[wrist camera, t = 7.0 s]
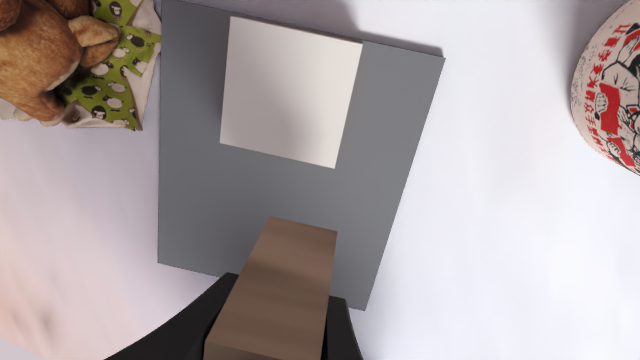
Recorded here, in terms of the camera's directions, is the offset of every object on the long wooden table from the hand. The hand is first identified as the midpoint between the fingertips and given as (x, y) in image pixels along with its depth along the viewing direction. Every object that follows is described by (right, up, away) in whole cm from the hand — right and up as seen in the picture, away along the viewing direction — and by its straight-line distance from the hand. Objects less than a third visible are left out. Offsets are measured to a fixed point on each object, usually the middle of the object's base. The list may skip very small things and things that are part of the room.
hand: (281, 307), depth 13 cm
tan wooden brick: (0, +1, +3) cm, 4 cm away
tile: (-1, +6, +6) cm, 9 cm away
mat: (-1, +5, +8) cm, 10 cm away
